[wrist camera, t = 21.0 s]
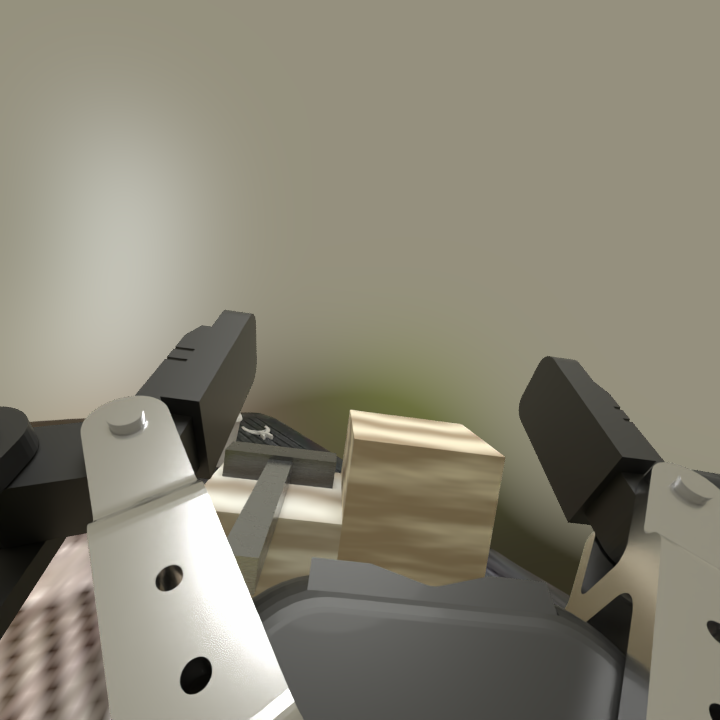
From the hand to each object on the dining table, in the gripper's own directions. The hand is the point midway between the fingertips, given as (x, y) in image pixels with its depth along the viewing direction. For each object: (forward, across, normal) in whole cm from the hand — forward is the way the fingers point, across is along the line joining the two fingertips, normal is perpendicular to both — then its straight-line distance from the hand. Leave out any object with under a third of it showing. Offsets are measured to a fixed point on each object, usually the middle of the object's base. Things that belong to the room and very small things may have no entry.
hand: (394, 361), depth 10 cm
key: (+11, +6, +26) cm, 29 cm away
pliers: (+86, +27, +99) cm, 134 cm away
